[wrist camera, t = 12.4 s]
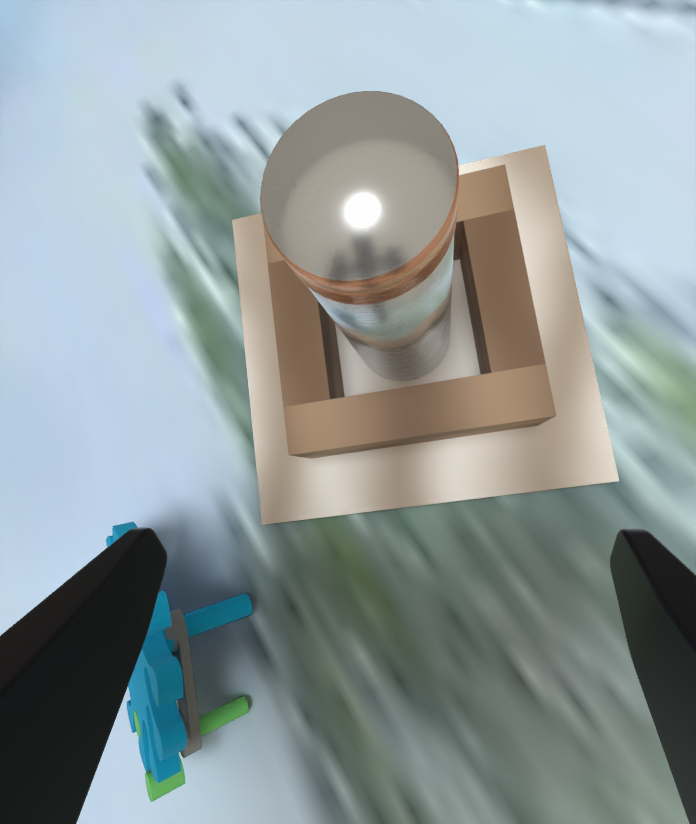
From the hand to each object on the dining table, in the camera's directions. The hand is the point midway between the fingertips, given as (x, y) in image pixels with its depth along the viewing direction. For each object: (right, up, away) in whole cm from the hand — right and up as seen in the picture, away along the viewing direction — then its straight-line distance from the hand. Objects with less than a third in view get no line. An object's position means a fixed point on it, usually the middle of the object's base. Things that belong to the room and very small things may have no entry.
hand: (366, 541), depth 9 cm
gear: (-8, -8, +15) cm, 19 cm away
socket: (+2, +6, +14) cm, 16 cm away
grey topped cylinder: (+2, +6, +13) cm, 15 cm away
